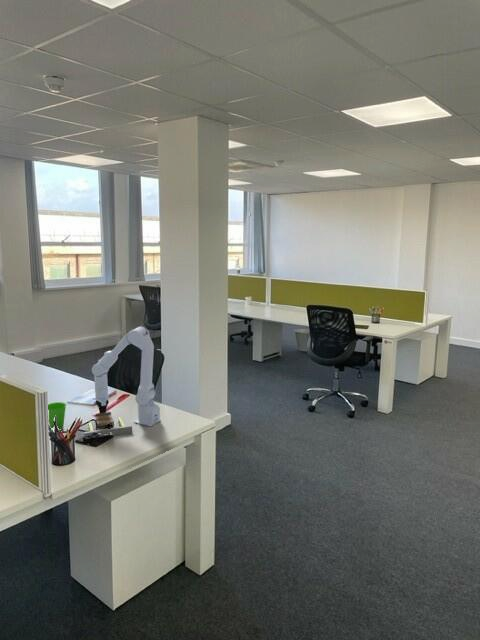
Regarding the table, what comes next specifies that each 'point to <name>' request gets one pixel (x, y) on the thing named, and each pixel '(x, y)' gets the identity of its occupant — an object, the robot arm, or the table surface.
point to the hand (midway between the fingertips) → (102, 415)
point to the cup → (57, 413)
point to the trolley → (104, 419)
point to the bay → (115, 431)
